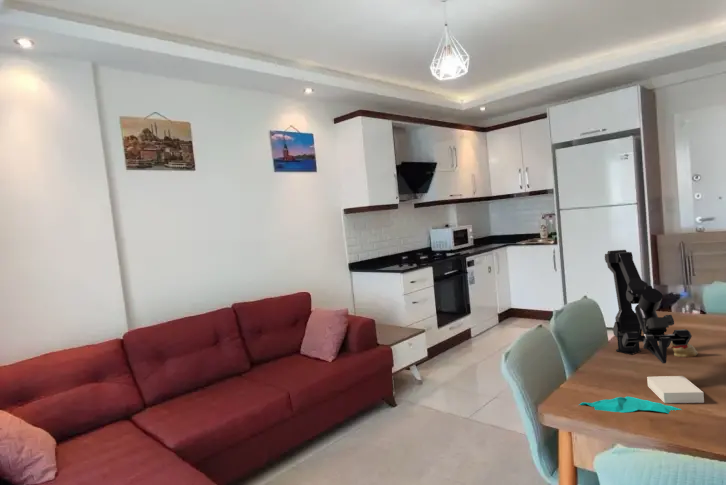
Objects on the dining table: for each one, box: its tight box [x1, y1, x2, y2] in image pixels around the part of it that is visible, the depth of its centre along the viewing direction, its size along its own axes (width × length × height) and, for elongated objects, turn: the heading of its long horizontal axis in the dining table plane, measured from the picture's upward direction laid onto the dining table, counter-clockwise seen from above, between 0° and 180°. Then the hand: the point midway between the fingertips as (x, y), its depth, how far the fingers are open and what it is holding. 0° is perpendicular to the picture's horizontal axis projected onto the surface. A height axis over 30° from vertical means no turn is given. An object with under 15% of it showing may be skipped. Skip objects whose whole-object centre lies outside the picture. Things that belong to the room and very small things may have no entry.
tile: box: [646, 375, 705, 404], centre depth 139 cm, size 4×10×13 cm
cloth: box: [578, 395, 682, 415], centre depth 134 cm, size 26×14×2 cm, turn 56°
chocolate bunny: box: [670, 328, 698, 358], centre depth 169 cm, size 6×8×10 cm
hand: (664, 362), depth 144 cm, fingers closed
